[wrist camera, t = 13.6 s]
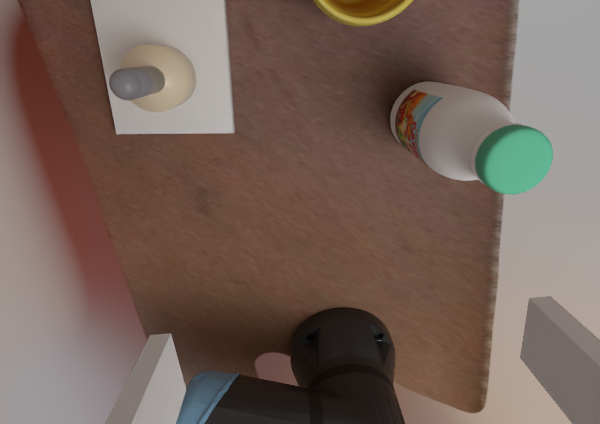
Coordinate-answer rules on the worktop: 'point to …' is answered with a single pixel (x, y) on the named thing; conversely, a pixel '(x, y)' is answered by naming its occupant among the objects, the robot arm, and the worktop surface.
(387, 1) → the plant pot
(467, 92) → the milk bottle
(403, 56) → the worktop surface
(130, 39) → the assembly board
